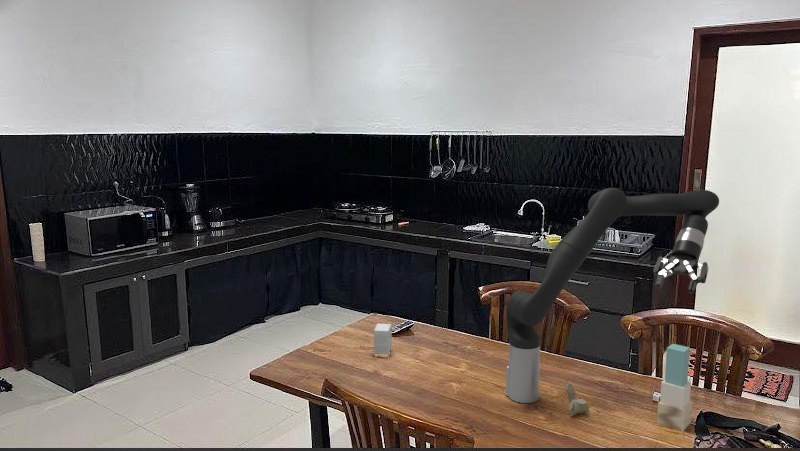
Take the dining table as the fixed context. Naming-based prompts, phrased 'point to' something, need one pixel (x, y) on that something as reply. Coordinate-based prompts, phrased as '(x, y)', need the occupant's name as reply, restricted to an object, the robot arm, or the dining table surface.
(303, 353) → the dining table surface
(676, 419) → the beech block
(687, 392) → the cream block
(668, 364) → the teal block
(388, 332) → the small box
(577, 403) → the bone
